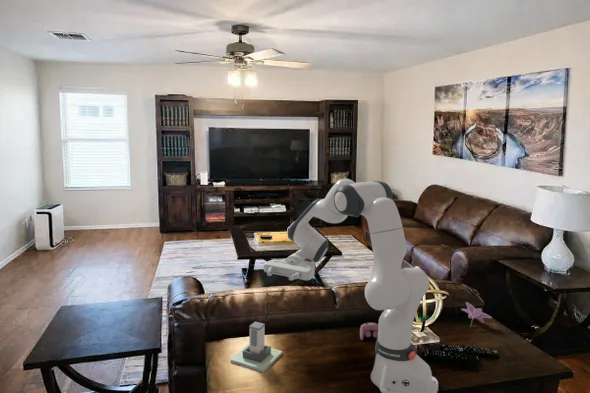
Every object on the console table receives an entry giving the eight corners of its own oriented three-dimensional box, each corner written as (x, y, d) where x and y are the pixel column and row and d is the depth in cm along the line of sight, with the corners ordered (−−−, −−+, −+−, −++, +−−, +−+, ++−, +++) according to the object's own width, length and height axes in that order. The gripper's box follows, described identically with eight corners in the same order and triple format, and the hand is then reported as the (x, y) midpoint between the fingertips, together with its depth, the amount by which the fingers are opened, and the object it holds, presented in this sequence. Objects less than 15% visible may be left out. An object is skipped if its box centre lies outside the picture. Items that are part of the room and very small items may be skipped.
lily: (493, 332, 197) (496, 310, 199) (472, 325, 193) (476, 303, 195) (471, 328, 208) (475, 307, 210) (452, 322, 203) (456, 300, 206)
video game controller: (383, 341, 189) (383, 323, 191) (384, 341, 184) (385, 323, 186) (359, 339, 190) (359, 322, 191) (359, 340, 185) (360, 322, 187)
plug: (264, 353, 173) (264, 323, 170) (258, 359, 168) (258, 329, 166) (255, 351, 174) (255, 321, 172) (248, 357, 170) (248, 326, 168)
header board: (282, 353, 175) (282, 345, 174) (263, 372, 163) (263, 363, 162) (250, 344, 181) (250, 336, 180) (230, 361, 169) (230, 353, 168)
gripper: (273, 253, 193) (255, 263, 181) (318, 261, 184) (303, 272, 172) (273, 268, 194) (255, 278, 182) (317, 276, 185) (302, 288, 173)
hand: (279, 276), depth 177 cm, fingers open, 8 cm apart
